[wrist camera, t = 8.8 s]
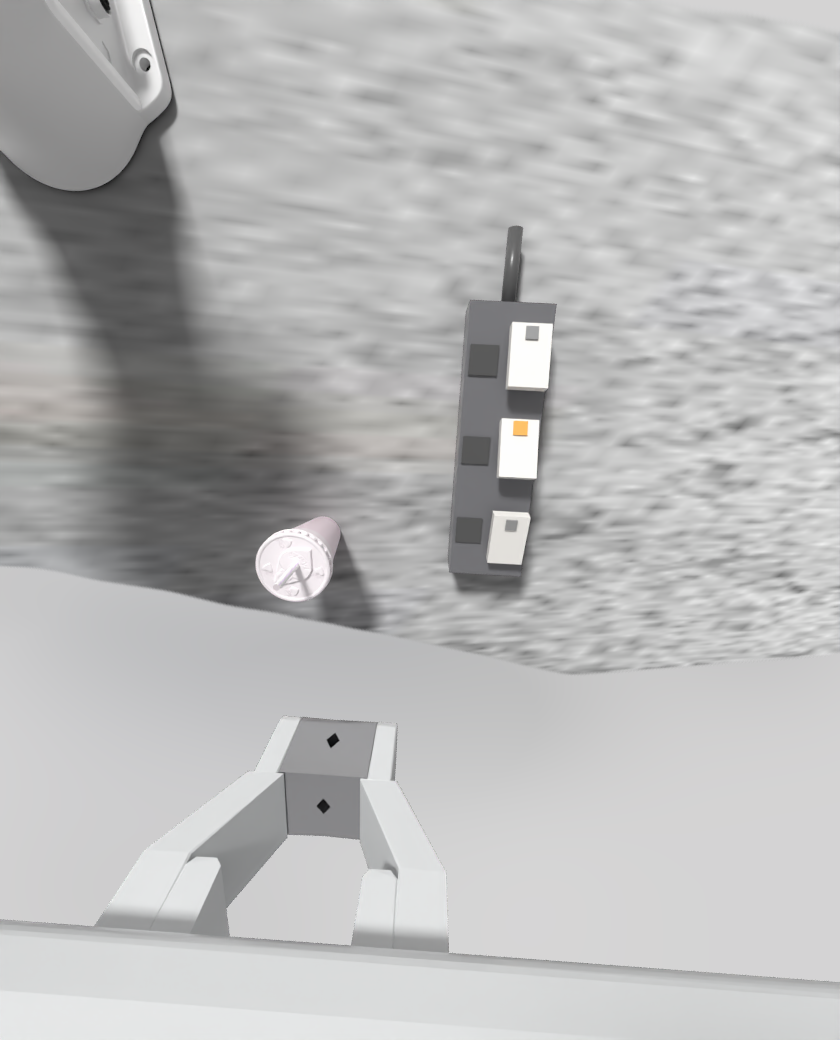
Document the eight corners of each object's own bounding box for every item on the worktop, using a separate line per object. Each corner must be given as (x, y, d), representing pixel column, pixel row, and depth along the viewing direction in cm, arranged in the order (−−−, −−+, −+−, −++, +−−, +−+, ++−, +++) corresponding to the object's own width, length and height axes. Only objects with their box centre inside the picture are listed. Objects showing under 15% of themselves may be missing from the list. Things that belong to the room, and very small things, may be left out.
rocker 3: (492, 510, 35) (494, 516, 34) (528, 512, 35) (531, 518, 34) (486, 556, 37) (487, 563, 36) (519, 558, 37) (521, 565, 36)
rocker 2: (499, 421, 34) (502, 417, 33) (536, 423, 34) (540, 419, 33) (496, 478, 34) (499, 476, 33) (533, 479, 34) (537, 478, 33)
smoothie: (365, 533, 41) (333, 593, 28) (326, 571, 43) (277, 646, 29) (320, 491, 40) (264, 532, 27) (281, 532, 42) (210, 591, 28)
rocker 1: (509, 327, 32) (512, 320, 30) (548, 329, 32) (553, 322, 30) (505, 389, 32) (508, 385, 31) (544, 391, 32) (548, 387, 31)
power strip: (471, 235, 33) (476, 211, 29) (552, 238, 33) (569, 215, 29) (447, 557, 42) (449, 573, 38) (512, 561, 42) (521, 577, 38)
